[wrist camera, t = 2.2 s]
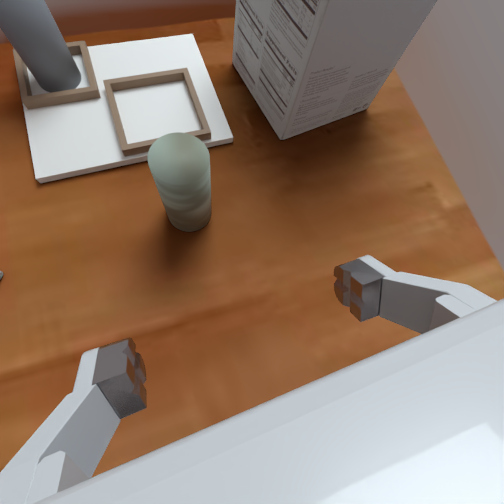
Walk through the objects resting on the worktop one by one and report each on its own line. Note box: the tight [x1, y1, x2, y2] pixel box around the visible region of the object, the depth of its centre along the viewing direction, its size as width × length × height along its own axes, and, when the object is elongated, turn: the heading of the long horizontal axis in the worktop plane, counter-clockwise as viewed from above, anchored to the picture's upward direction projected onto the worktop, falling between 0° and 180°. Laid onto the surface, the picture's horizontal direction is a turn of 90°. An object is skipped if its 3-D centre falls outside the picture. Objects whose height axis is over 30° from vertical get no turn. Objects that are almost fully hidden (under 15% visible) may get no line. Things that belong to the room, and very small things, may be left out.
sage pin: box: [147, 132, 211, 232], centre depth 25 cm, size 4×4×9 cm
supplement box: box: [232, 0, 437, 140], centre depth 28 cm, size 13×13×18 cm
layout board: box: [0, 0, 233, 183], centre depth 27 cm, size 20×16×10 cm
